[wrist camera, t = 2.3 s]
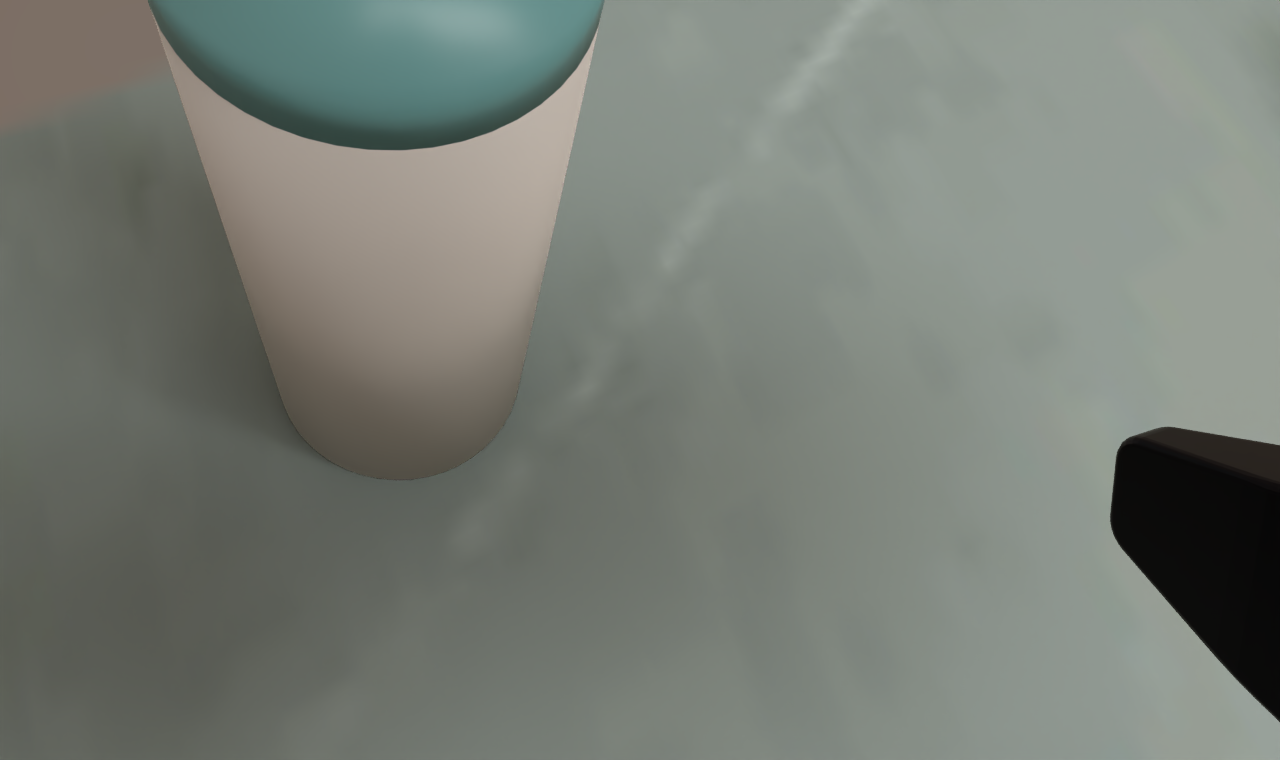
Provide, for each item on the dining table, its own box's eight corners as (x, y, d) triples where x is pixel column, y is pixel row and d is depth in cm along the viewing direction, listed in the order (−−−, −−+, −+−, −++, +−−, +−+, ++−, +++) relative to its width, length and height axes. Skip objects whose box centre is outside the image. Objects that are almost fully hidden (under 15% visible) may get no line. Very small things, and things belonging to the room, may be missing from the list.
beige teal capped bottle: (535, 282, 24) (640, -228, 13) (501, 496, 22) (590, 136, 11) (306, 242, 24) (190, -334, 12) (252, 460, 22) (49, 32, 10)
